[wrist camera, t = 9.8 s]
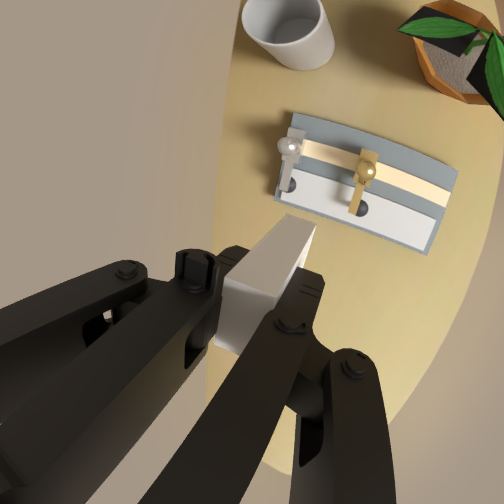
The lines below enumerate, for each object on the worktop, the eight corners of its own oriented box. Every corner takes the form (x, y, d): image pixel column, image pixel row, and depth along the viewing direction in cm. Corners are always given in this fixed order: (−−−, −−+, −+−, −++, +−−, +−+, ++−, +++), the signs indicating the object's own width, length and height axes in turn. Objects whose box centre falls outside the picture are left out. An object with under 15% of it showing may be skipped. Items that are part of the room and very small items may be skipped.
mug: (324, 79, 30) (309, 56, 20) (264, 62, 31) (229, 39, 22) (349, 10, 24) (342, -31, 14) (290, -4, 25) (264, -42, 16)
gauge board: (297, 113, 33) (291, 111, 30) (453, 169, 27) (461, 171, 25) (277, 197, 38) (271, 202, 36) (424, 250, 33) (428, 258, 30)
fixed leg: (292, 127, 31) (281, 125, 27) (308, 131, 31) (299, 130, 26) (279, 185, 35) (266, 193, 30) (294, 190, 34) (283, 198, 30)
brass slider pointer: (361, 147, 29) (362, 148, 24) (377, 153, 28) (381, 155, 24) (344, 206, 32) (341, 218, 28) (359, 212, 32) (359, 224, 27)
